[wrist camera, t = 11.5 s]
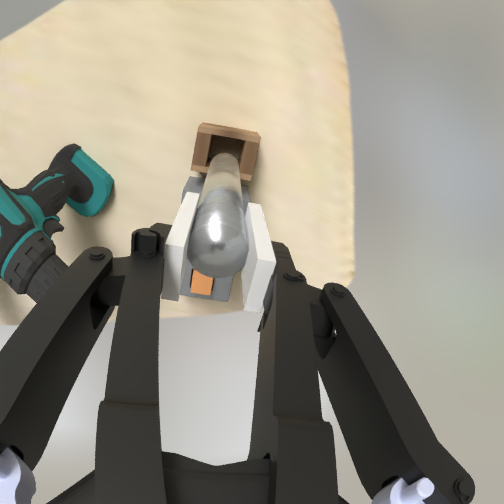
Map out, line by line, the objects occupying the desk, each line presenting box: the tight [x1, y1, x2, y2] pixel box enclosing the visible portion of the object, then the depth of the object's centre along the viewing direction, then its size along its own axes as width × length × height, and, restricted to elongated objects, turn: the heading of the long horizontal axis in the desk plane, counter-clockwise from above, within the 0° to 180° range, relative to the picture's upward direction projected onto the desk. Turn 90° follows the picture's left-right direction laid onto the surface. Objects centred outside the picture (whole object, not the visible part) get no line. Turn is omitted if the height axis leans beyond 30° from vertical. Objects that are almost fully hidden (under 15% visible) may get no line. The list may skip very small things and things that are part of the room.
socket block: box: [179, 176, 251, 302], centre depth 45 cm, size 9×17×7 cm, turn 167°
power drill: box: [0, 144, 114, 303], centre depth 31 cm, size 26×9×25 cm, turn 44°
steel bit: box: [187, 153, 249, 278], centre depth 22 cm, size 3×3×18 cm
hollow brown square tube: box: [191, 123, 261, 181], centre depth 39 cm, size 8×6×6 cm
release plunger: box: [191, 269, 213, 295], centre depth 46 cm, size 3×3×8 cm
